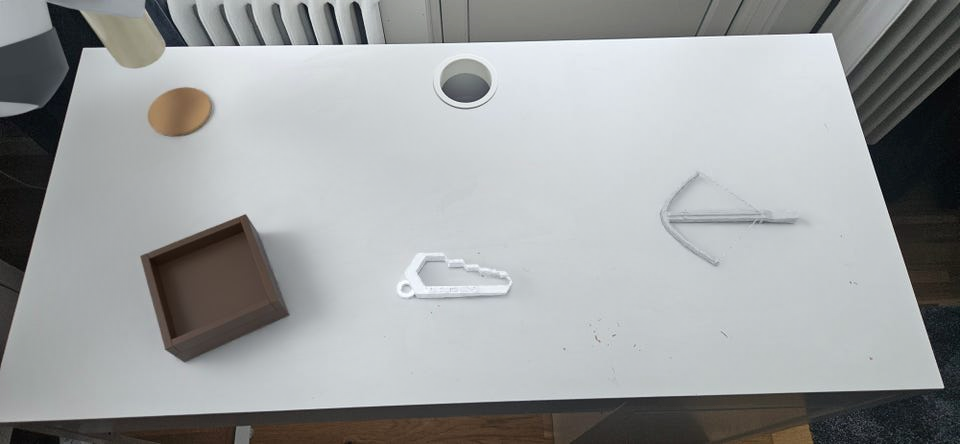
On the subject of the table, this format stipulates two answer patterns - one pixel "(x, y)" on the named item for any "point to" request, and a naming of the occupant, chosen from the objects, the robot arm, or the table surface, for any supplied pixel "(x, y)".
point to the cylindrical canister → (128, 38)
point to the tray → (212, 288)
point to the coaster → (179, 111)
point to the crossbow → (718, 218)
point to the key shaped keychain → (447, 291)
